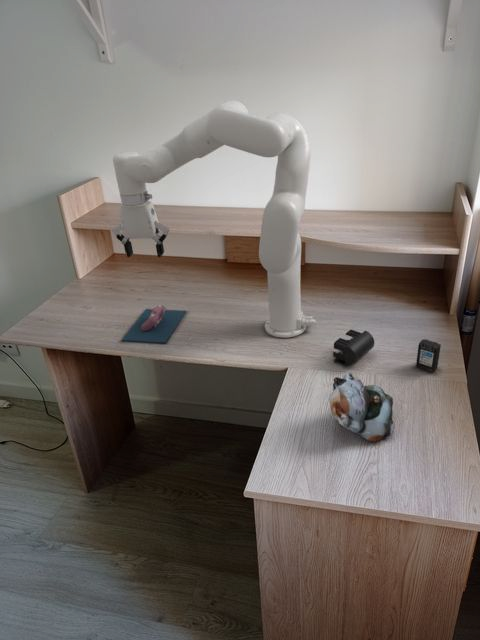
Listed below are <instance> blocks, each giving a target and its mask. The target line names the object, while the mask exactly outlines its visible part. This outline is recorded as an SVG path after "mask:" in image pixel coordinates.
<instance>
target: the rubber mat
mask: <svg viewBox="0 0 480 640" xmlns="http://www.w3.org/2000/svg"><path fill="white" fill-rule="evenodd" d="M153 309H154V308H151V309H150V308H145V310H144V311H143V312H142V314H141V315H140V316H139V317H138V318H137V320H136V321H135V322H134V324H133V325H132V326H131V327H130V328H129V330H128V331H127V332H126V333H125V335H124V336H123V337H122V339H121V342H123V343H124V342H125V343H139V344H159V345H166V344H167V343H168V341H169V340H170V339H171V337H172V335H173V334H174V332H175V331H176V329H177V328H178V326H179V324H180V323H181V322H182V320H183V318H184V316H185V315H186V313H187V310H180V309H179V310H175V309H166V310H165V313H164V314H163V316H162V318H161V319H162V320H161V321H160V322H159V324H157V325H156V327H155V328H154V327H152V328H151V329H150V330H148V331H142V330H141V325H142V324H143V323H145V322H146V321H147V320H148V318H149V316H150V315H151V313H152V310H153Z"/></svg>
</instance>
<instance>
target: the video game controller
mask: <svg viewBox="0 0 480 640" xmlns="http://www.w3.org/2000/svg"><path fill="white" fill-rule="evenodd" d="M152 309H153V310H152V313H151V315H150V316H149V318H148V320H147V321H146V322H145V323H143V324H142V325H141V330H142V331H148V330H150V329H151V328H152V327H154V328H155V327H156V325H157V324H159V322H160V321H161V320H162V319H161V318H162V316H163V314H164V313H165V310H167V307H166V306H164V305H160V304H159V305H157V306H156V307H154V308H152Z"/></svg>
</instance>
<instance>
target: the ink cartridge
mask: <svg viewBox="0 0 480 640" xmlns="http://www.w3.org/2000/svg"><path fill="white" fill-rule="evenodd" d="M441 346H442V344H440V343H438V342H437V341H432V340H429V339H426V338H425V339H424V338H422V339H421V340H420V341H419V343H418V346H417V355H416V362H415V368H416V369H419V370H420V371H421V370H422V371H425V372H427V373H430V374H434V373H435V372H436V371H437V370H438V365H439V360H440V352H441Z"/></svg>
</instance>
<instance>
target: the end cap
mask: <svg viewBox="0 0 480 640" xmlns="http://www.w3.org/2000/svg"><path fill="white" fill-rule="evenodd" d="M345 336H348V337H351V338H350V339H344V338H341V337H339V338H338V339H337V340H335V341H334V342H333V349H334V350H337V351H338V352H337V351H334V352H333V353H332V354H333V355H332V356H333V358H334V359H333V362H334V363H335V364H339V365H341V366H344V367H351V366H353V365H355V364H356V363H357V362H358V361H359V360H361V359H362V358H363V357H364V356H365V355H366V354H367V353H369V352H370V351H371V350H372V349H373V348H374V346H375V339H374V337H373V334H371V333H370V332H369V331H367V330H364V331H362V332H360V331H357V330H354V329H349V330H348V331H347V332H345Z"/></svg>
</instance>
